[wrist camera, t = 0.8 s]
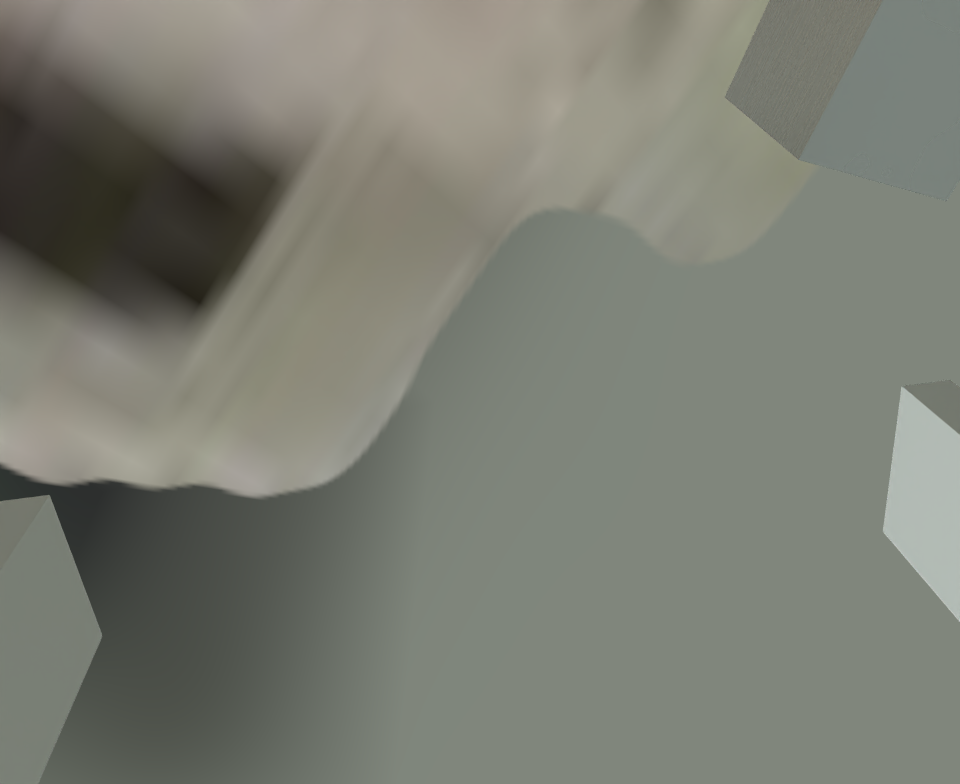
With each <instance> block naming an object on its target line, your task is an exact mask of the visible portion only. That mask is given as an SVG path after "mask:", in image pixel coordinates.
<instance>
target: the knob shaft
mask: <svg viewBox="0 0 960 784" xmlns="http://www.w3.org/2000/svg"><path fill="white" fill-rule="evenodd" d="M725 98H726V99H727V100H729V101H730V102H731V103H732V104H733V105H734V106H736V107H737V108H738V109H739V110H740V111H742V112H743V113H744V114H745V115H746V116H747V117H749V118H750V119H751V120H752V121H753V122H755V123H756V124H757V125H758V126H759V127H760V128H762V129H763V130H764V131H765V132H766V133H768V134H769V135H770V136H771V137H772V138H773V139H775V140H776V141H777V142H778V143H779V144H781V145H782V146H783V147H784V148H785V149H786V150H788V151H789V152H790V153H791V154H792V155H794V156H795V157H796V158H797V159H798V160H801V161H805V162H808V163H812V164H815V165H819V166H823V167H826V168H830V169H833V170H837V171H841V172H844V173H848V174H851V175H855V176H858V177H862V178H866V179H869V180H873V181H876V182H880V183H884V184H887V185H891V186H894V187H898V188H901V189H905V190H908V191H912V192H915V193H919V194H923V195H926V196H930V197H934V198H937V199H941V200H945V201H947V199H948V198H949V196H950V195H951V193H952V192H953V190H954V189H955V187H956V185H957V184H958V182H959V181H960V0H770V1H769V3H768V5H767V7H766V9H765V11H764V14H763V16H762V18H761V20H760V22H759V24H758V26H757V29H756V31H755V33H754V35H753V37H752V39H751V42H750V44H749V46H748V48H747V50H746V52H745V55H744V57H743V59H742V61H741V63H740V65H739V68H738V70H737V72H736V74H735V76H734V78H733V81H732V83H731V85H730V87H729V89H728V91H727V93H726V96H725Z"/></svg>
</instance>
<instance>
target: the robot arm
mask: <svg viewBox="0 0 960 784" xmlns="http://www.w3.org/2000/svg"><path fill="white" fill-rule="evenodd" d="M883 532H884V533H885V535H886V536H887V537H888V538H889V539H890V540H891V542H892V543H893V544H894V545H895V546H896V548H897V549H898V550H899V551H900V552H901V553H902V555H903V556H904V557H905V558H906V559H907V560H908V561H909V563H910V564H911V565H912V566H913V567H914V569H915V570H916V571H917V572H918V573H919V574H920V576H921V577H922V578H923V579H924V580H925V582H926V583H927V584H928V585H929V586H930V587H931V588H932V590H933V591H934V592H935V593H936V594H937V596H938V597H939V598H940V599H941V600H942V602H943V603H944V604H945V605H946V606H947V607H948V609H949V610H950V611H951V612H952V613H953V614H954V616H955V617H956V618H957V619H958V620H959V622H960V387H959V386H957V385H956V384H955V383H953V382H952V381H951V380H945V381H937V382H929V383H921V384H914V385H906V386H902V388H901V396H900V404H899V411H898V419H897V427H896V435H895V442H894V450H893V458H892V466H891V473H890V481H889V490H888V497H887V505H886V512H885V520H884V528H883ZM101 638H102V634H101V631H100V629H99V626H98V623H97V620H96V618H95V615H94V612H93V610H92V607H91V604H90V602H89V599H88V596H87V594H86V591H85V589H84V586H83V583H82V580H81V578H80V575H79V572H78V570H77V567H76V565H75V562H74V559H73V557H72V554H71V551H70V549H69V546H68V543H67V541H66V538H65V535H64V533H63V531H62V527H61V525H60V522H59V519H58V517H57V514H56V511H55V509H54V506H53V504H52V501H51V498H50V495H47V496H39V497H31V498H23V499H16V500H8V501H0V784H38V783H39V780H40V778H41V776H42V773H43V771H44V769H45V767H46V764H47V762H48V759H49V757H50V755H51V753H52V750H53V748H54V746H55V744H56V741H57V739H58V737H59V734H60V732H61V730H62V727H63V725H64V722H65V720H66V718H67V716H68V714H69V711H70V709H71V707H72V704H73V702H74V700H75V698H76V695H77V693H78V691H79V688H80V686H81V684H82V681H83V679H84V677H85V675H86V672H87V669H88V668H89V665H90V663H91V661H92V659H93V656H94V654H95V652H96V649H97V647H98V645H99V642H100V640H101Z"/></svg>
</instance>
